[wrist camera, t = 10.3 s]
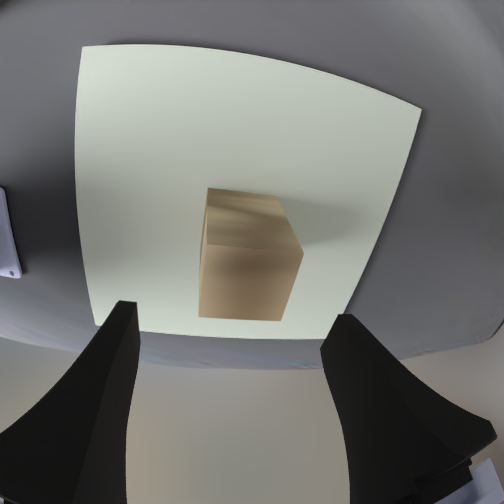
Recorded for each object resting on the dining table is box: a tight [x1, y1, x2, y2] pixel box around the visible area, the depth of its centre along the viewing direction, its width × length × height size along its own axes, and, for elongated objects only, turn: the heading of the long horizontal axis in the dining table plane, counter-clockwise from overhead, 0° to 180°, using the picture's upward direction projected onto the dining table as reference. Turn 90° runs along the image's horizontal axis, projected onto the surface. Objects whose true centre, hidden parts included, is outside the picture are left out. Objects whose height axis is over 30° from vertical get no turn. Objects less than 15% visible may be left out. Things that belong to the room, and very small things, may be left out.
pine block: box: [198, 188, 304, 321], centre depth 15 cm, size 4×4×6 cm
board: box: [75, 44, 422, 339], centre depth 19 cm, size 20×20×2 cm
